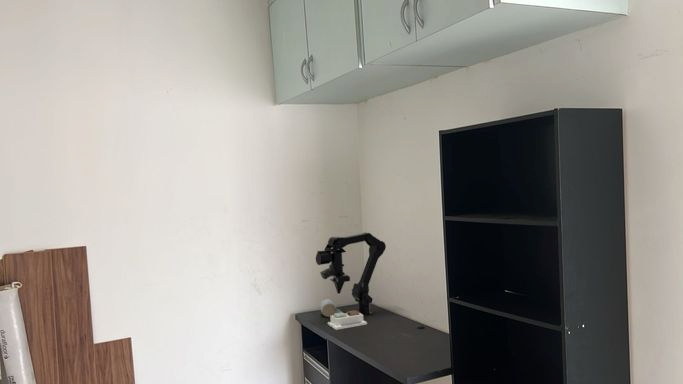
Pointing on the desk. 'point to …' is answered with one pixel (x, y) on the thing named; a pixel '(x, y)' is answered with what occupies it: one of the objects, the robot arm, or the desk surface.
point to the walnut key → (352, 313)
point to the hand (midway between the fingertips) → (338, 293)
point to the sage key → (339, 315)
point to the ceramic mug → (328, 308)
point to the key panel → (346, 321)
